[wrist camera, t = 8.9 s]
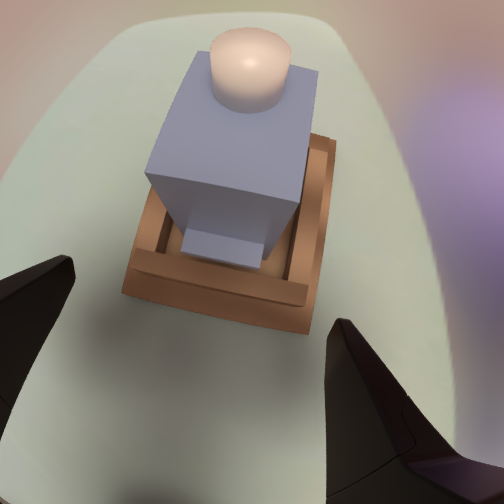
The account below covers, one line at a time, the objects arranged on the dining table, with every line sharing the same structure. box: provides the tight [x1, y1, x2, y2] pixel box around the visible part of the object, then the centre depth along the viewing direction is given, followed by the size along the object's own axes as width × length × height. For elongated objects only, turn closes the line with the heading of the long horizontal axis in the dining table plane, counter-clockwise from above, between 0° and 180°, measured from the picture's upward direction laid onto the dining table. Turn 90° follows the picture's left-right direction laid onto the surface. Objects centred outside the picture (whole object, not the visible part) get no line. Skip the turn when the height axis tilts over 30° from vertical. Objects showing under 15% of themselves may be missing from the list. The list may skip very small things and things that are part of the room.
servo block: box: [144, 28, 318, 270], centre depth 14 cm, size 8×5×12 cm, turn 168°
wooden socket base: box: [122, 133, 336, 335], centre depth 19 cm, size 14×12×3 cm
